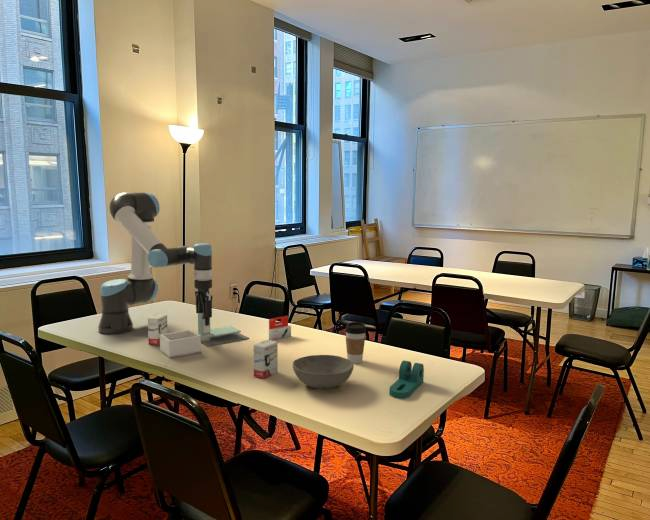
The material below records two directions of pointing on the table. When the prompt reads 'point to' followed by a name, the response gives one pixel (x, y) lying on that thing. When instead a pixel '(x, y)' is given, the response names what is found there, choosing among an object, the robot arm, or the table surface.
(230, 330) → the lid
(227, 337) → the mat
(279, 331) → the ink box
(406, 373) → the bracket
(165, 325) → the ink box
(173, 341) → the tub
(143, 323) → the table surface
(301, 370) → the bowl
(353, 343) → the coffee cup
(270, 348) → the ink box
